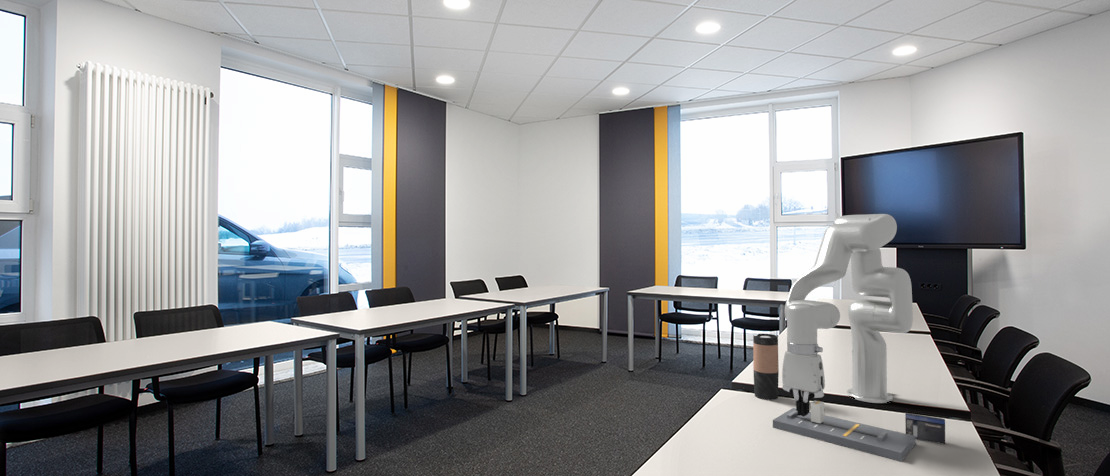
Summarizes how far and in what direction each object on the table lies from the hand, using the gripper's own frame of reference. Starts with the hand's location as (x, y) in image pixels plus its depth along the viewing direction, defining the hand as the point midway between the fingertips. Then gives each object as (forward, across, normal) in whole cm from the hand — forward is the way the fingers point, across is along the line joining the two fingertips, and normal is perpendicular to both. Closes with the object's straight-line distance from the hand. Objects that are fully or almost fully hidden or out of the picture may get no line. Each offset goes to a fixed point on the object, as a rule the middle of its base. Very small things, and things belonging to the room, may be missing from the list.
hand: (802, 414), depth 141 cm
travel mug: (+3, +18, -18) cm, 26 cm away
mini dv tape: (+3, -26, -12) cm, 28 cm away
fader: (+1, -4, 0) cm, 4 cm away
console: (+3, -10, 0) cm, 10 cm away
